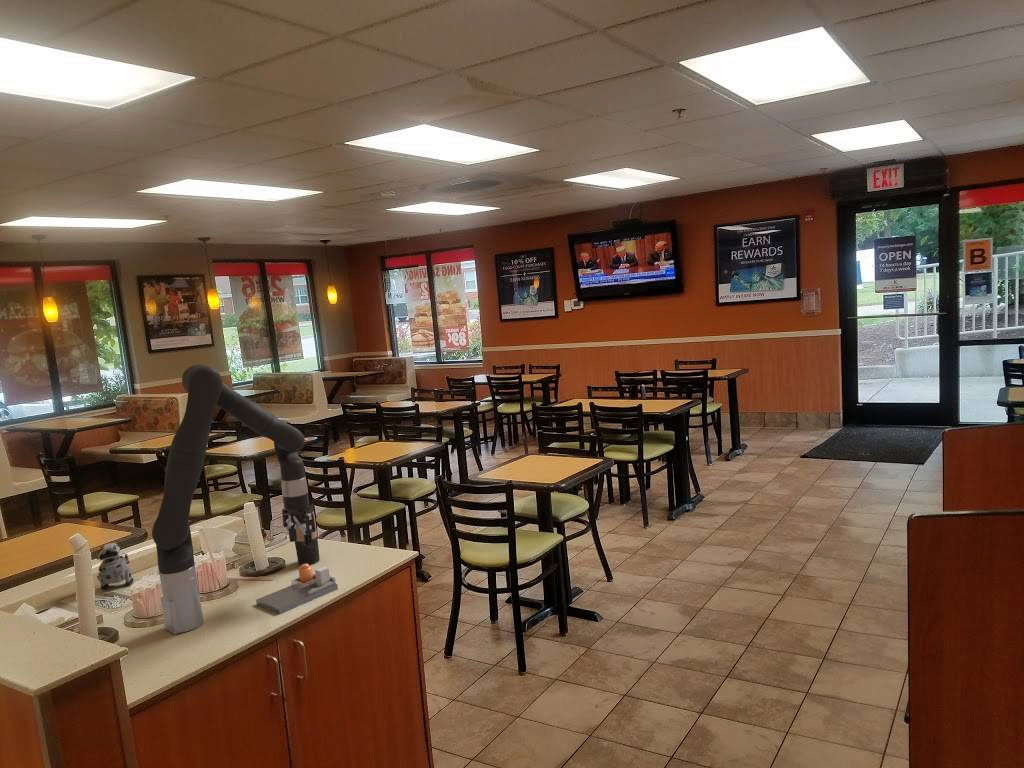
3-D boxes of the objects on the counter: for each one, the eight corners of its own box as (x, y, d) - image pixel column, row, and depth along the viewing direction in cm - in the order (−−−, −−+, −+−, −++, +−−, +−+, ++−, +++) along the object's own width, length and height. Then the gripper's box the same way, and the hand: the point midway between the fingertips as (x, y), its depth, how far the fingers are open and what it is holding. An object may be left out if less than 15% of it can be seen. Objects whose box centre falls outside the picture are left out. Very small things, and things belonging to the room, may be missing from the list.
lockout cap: (305, 586, 222) (302, 568, 221) (297, 583, 224) (295, 566, 224) (316, 581, 225) (313, 564, 224) (309, 579, 227) (306, 561, 227)
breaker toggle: (322, 587, 220) (320, 571, 219) (316, 585, 222) (314, 569, 221) (330, 583, 222) (328, 568, 221) (325, 581, 224) (323, 566, 223)
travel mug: (323, 557, 252) (316, 501, 249) (315, 565, 244) (308, 508, 241) (302, 558, 252) (295, 503, 250) (294, 566, 245) (286, 509, 242)
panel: (279, 614, 207) (278, 603, 206) (256, 604, 216) (255, 593, 215) (338, 588, 222) (336, 578, 221) (314, 580, 230) (312, 570, 230)
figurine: (94, 597, 234) (86, 553, 232) (107, 584, 245) (100, 541, 243) (124, 592, 235) (117, 548, 233) (136, 579, 247) (129, 537, 245)
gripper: (318, 492, 219) (324, 543, 221) (293, 486, 229) (298, 536, 231) (297, 498, 214) (303, 551, 216) (271, 492, 223) (277, 543, 225)
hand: (301, 543), depth 223 cm, fingers open, 8 cm apart
